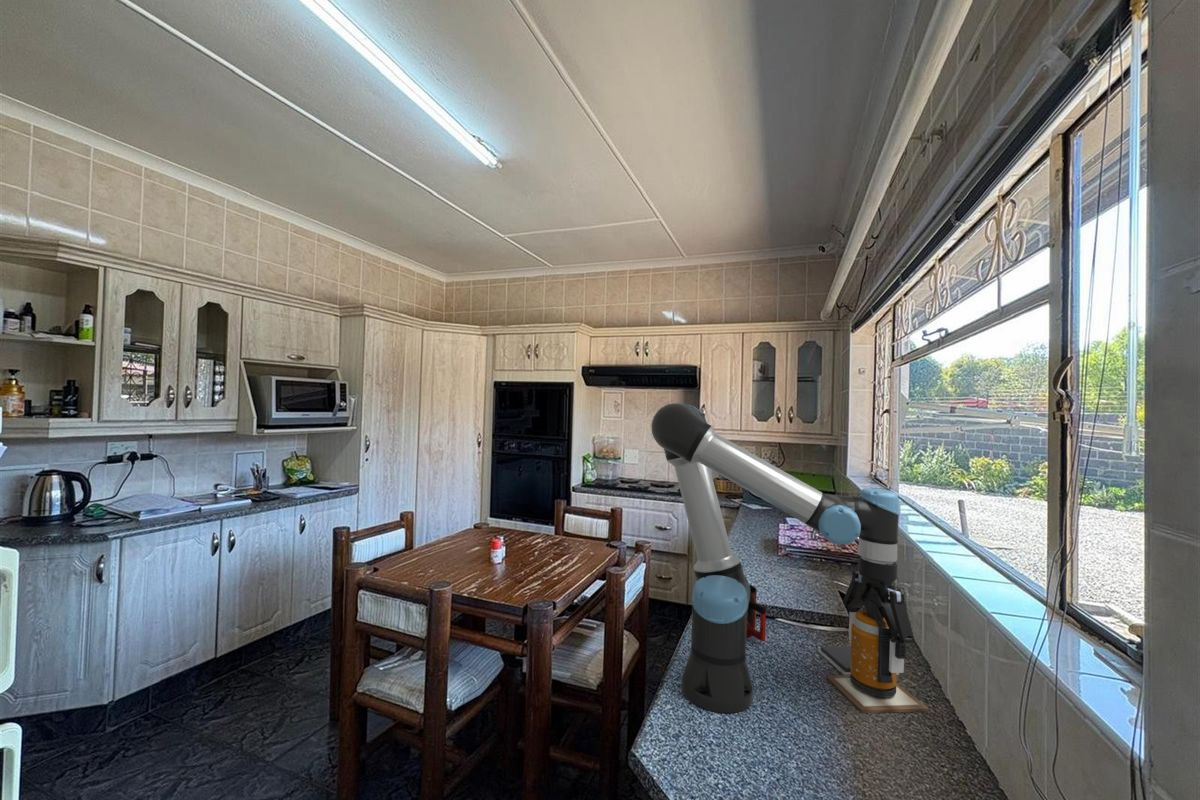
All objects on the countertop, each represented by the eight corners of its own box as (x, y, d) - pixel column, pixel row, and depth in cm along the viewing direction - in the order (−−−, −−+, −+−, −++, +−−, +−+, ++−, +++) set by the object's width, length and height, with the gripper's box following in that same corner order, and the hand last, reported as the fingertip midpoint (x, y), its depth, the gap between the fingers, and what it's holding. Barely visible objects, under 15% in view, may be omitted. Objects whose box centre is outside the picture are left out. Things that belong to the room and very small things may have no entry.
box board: (862, 713, 99) (862, 709, 99) (826, 678, 112) (826, 675, 112) (929, 711, 100) (929, 708, 100) (885, 677, 113) (885, 674, 113)
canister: (883, 679, 111) (885, 592, 112) (909, 707, 100) (911, 611, 101) (843, 675, 112) (845, 589, 113) (864, 703, 101) (867, 608, 102)
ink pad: (845, 676, 113) (845, 669, 113) (817, 651, 125) (818, 645, 125) (898, 675, 114) (898, 668, 114) (866, 651, 126) (867, 644, 126)
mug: (764, 646, 126) (765, 600, 127) (714, 630, 135) (716, 587, 135) (775, 634, 134) (776, 590, 134) (727, 619, 142) (729, 579, 143)
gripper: (937, 579, 95) (934, 687, 94) (857, 543, 120) (854, 629, 119) (902, 578, 94) (899, 687, 94) (829, 543, 119) (826, 629, 119)
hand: (874, 655), depth 106 cm, fingers open, 13 cm apart
